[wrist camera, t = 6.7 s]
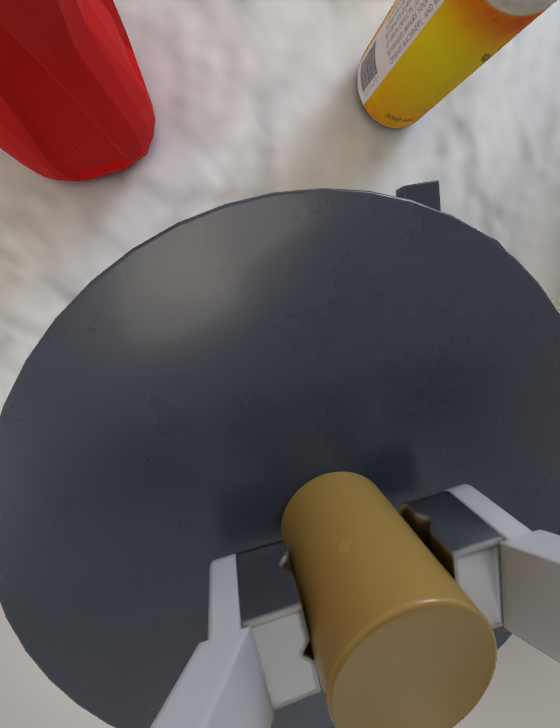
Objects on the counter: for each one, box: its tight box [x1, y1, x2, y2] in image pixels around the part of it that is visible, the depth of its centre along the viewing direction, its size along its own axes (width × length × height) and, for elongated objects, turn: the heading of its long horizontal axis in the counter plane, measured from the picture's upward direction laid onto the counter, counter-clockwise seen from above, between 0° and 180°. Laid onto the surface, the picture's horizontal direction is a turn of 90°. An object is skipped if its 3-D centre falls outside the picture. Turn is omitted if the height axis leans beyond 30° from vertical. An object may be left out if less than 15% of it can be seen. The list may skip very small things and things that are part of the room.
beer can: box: [357, 0, 557, 128], centre depth 19 cm, size 6×6×15 cm
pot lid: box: [0, 188, 560, 728], centre depth 7 cm, size 15×15×5 cm
